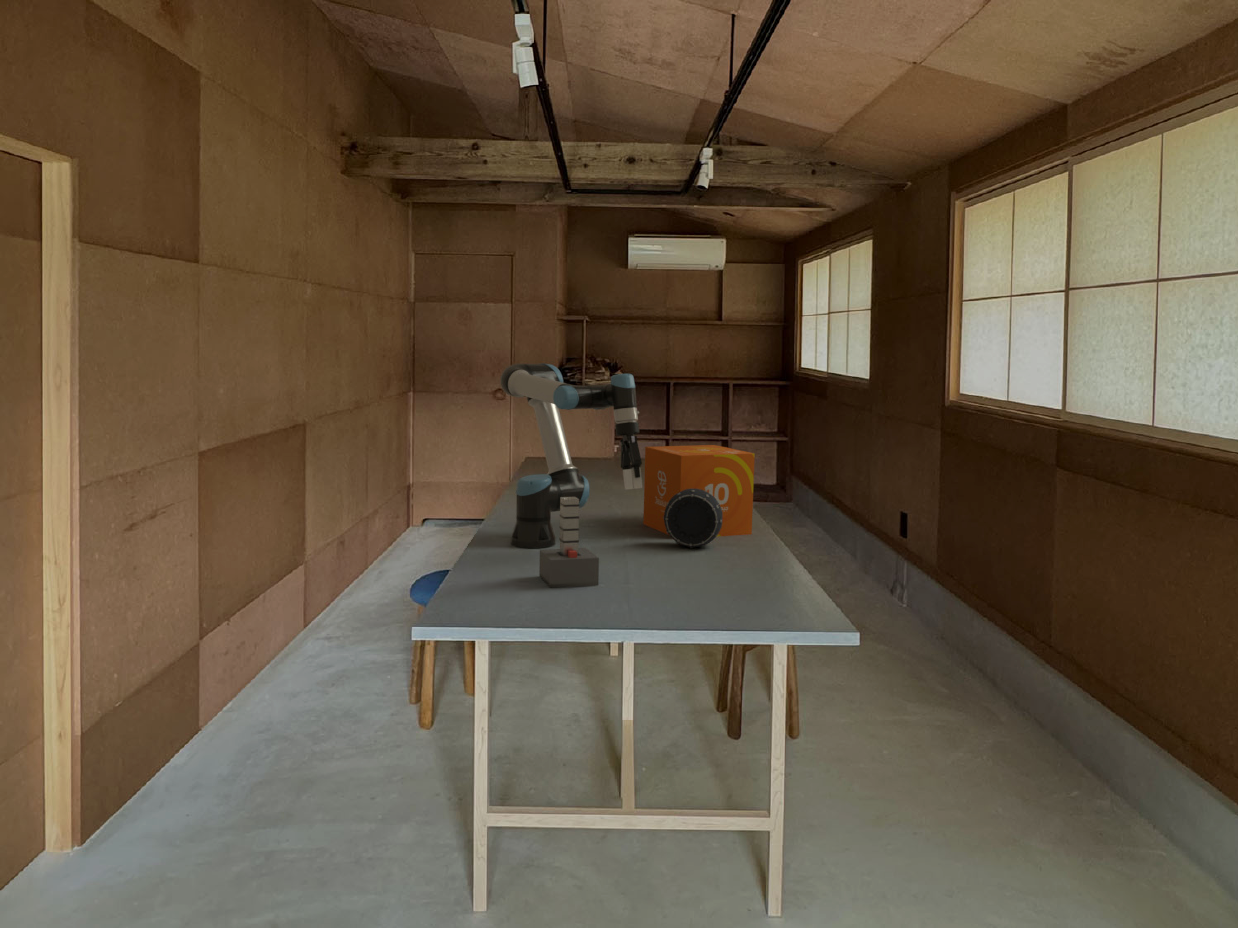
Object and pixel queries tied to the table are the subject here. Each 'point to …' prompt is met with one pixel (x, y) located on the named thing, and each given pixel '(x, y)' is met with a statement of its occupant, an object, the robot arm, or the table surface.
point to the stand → (569, 568)
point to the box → (700, 482)
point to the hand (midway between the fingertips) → (633, 489)
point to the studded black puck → (693, 518)
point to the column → (569, 525)
